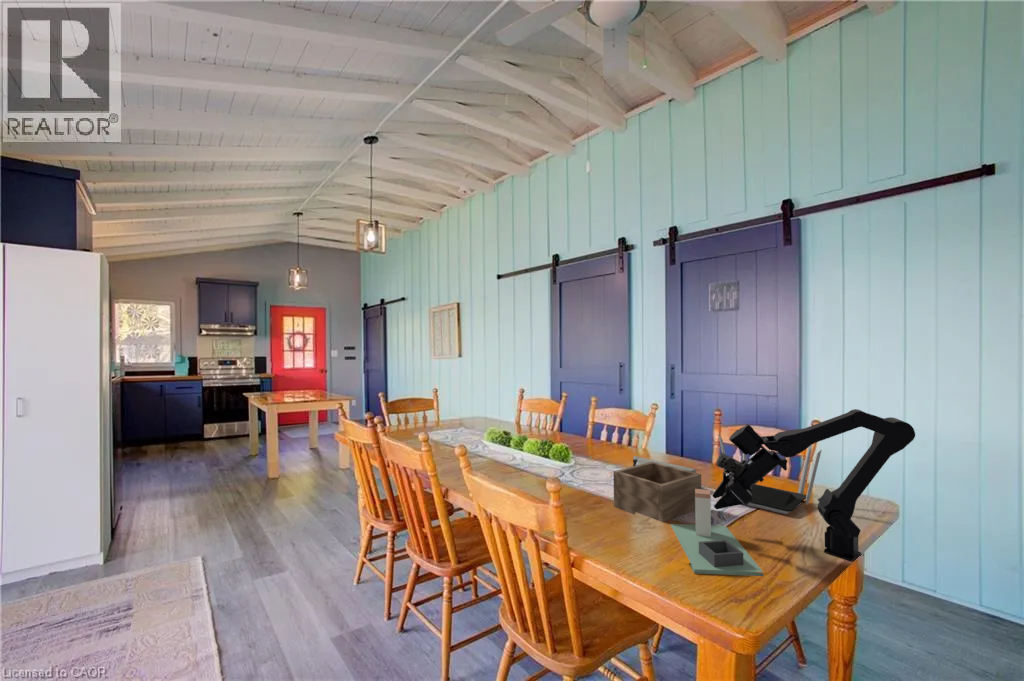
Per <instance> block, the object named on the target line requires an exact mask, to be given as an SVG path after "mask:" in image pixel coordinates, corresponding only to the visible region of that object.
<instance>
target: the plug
mask: <svg viewBox="0 0 1024 681" xmlns="http://www.w3.org/2000/svg"><path fill="white" fill-rule="evenodd" d="M711 496H712V495H711V490H709V489H703V488H701V489H695V510H694V512H695V525H696V535H700V536H708V537H711V525H712V524H711V523H712V514H711V512H712V511H711V510H712V509H711V508H712V506H711V504H712V503H711V502H712V501H711V499H712V498H711Z"/></svg>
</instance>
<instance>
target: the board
mask: <svg viewBox="0 0 1024 681" xmlns="http://www.w3.org/2000/svg"><path fill="white" fill-rule="evenodd" d="M669 525H670V527H671V529H672V531H673V532H674V534H675V537H676V538H677V540H678V542H679V544H680V546H681V548H682V549H683V551H684V553H685V555H686V557H687V558H688V560H689V562H688V564H689V566H690V568H691V570H692V572H693V573H694V574H697V575H698V574H700V575H727V576H730V575H731V576H750V577H764V571H763V569H762V568H761V567H760V566H759V565H758V564H757V562H756V561H755V560H754V559H753V557H752V556H751V555H750V554H749V552H748V551H747V550H746V549H745V548H744V547H743V545H742V544H741V543H740V542H739V541H738V540H737V537H736V536H734V534H733V532H732V531H730V530H729V528H728V527H727V526H726V525H717V524H711V537H708V536H700V535H696V524H689V523H688V524H687V523H686V524H679V523H678V524H677V523H670V524H669ZM717 540H727V541H728V542H730V543H731V544H732V545H733V546H735V547H736V548H737V549H739V550H740V551H741V552H743V565H736V566H724V567H714V566H713V565H711V564H710V563H709V562H708V561H707V560H706V559H705V558H704V557H703V556H701V555H700V554H699V542H703V541H717Z"/></svg>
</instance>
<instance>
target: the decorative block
mask: <svg viewBox="0 0 1024 681" xmlns="http://www.w3.org/2000/svg"><path fill="white" fill-rule="evenodd" d="M649 462H655V463H659V464H663V465H667V466H671V467H675V468H678V469H682V470H686V471H690V472H694V473H697V470H696V469H695V468H692V467H688V466H683V465H679V464H673V463H669V462H664V461H659V460H654V459H650V458H645V457H641V456H635V455H633V458H632V463H633V464H632V467H633V466H637V465H641V464H645V463H649Z"/></svg>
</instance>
